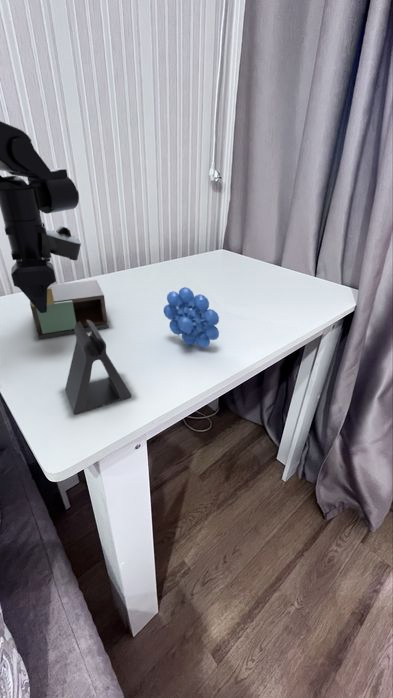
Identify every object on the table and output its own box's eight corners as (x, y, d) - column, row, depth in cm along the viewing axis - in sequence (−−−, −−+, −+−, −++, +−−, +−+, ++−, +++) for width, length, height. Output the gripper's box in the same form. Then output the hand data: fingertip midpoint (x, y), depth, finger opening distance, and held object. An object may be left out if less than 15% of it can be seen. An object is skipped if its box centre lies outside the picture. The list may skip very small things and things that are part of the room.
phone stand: (73, 415, 49) (58, 346, 42) (65, 391, 53) (50, 326, 47) (131, 397, 53) (126, 332, 46) (119, 376, 57) (113, 314, 51)
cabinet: (38, 339, 66) (30, 307, 62) (36, 316, 74) (28, 287, 70) (109, 327, 71) (105, 297, 67) (100, 307, 79) (96, 279, 75)
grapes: (154, 348, 65) (152, 291, 59) (169, 332, 70) (169, 279, 64) (209, 363, 62) (213, 304, 55) (221, 345, 67) (226, 290, 60)
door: (39, 335, 66) (28, 291, 61) (38, 332, 67) (27, 289, 62) (77, 328, 68) (69, 286, 63) (76, 326, 69) (69, 284, 64)
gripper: (80, 227, 51) (93, 318, 59) (67, 206, 65) (79, 281, 73) (-1, 232, 47) (25, 328, 55) (3, 208, 61) (24, 287, 69)
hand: (42, 303), depth 63 cm, fingers open, 8 cm apart
